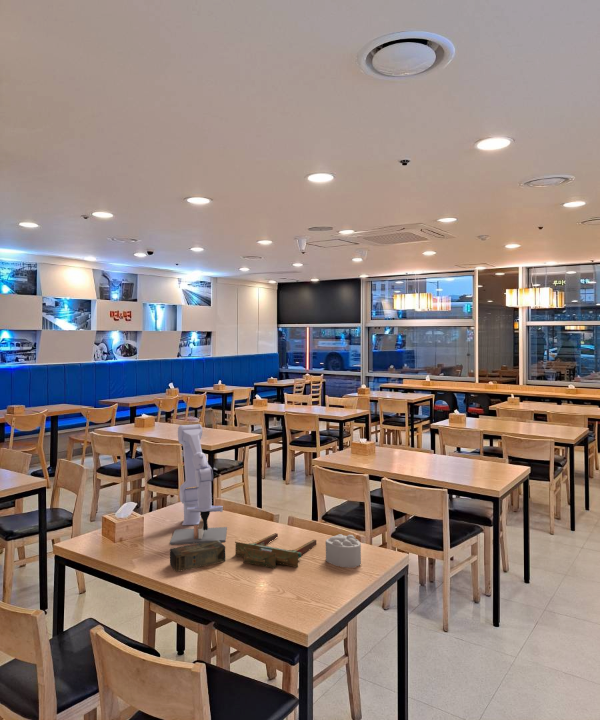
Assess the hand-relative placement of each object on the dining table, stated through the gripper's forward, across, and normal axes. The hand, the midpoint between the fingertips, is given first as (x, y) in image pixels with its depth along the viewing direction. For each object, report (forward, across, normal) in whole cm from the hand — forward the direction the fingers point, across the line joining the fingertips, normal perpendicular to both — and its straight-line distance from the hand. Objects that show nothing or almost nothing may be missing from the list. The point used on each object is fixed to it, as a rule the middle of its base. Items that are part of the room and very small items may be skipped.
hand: (205, 529), depth 226 cm
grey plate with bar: (+3, -2, -1) cm, 4 cm away
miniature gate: (+4, +28, -24) cm, 37 cm away
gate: (+1, -2, 0) cm, 2 cm away
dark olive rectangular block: (+3, 0, -29) cm, 29 cm away
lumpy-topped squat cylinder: (+4, +53, -35) cm, 63 cm away
